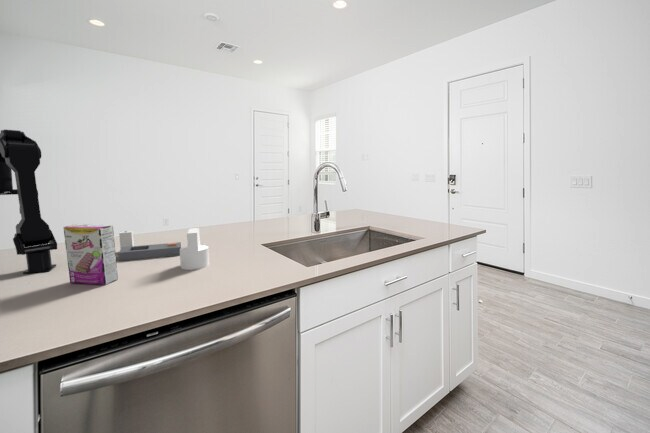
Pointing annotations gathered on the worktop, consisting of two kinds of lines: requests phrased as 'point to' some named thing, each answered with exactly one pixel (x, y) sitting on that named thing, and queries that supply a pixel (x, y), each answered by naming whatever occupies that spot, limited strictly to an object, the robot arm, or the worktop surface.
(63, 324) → the worktop surface
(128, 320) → the worktop surface
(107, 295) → the worktop surface
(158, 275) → the worktop surface
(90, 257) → the candy bar box
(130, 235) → the plug block
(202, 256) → the cylinder with rectangular tab
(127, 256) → the grey board with hole
